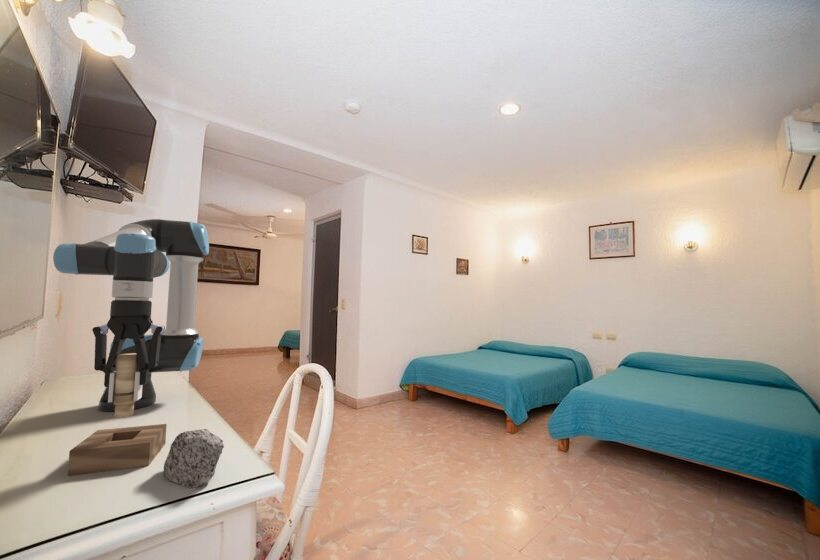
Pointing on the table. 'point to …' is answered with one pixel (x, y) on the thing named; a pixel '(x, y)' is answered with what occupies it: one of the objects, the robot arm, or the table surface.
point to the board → (117, 449)
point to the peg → (125, 384)
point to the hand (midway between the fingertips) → (125, 399)
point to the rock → (193, 458)
